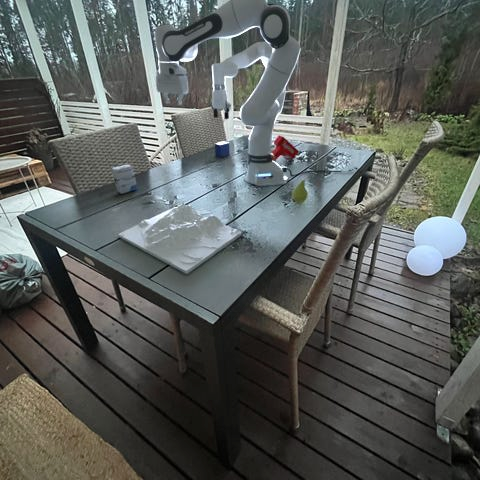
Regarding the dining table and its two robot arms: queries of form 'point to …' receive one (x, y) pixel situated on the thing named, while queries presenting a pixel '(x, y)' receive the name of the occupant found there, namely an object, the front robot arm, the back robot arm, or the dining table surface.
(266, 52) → the back robot arm
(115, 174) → the ink box
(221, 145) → the block
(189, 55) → the front robot arm
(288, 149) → the red power drill
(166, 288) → the dining table surface
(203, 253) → the relief map
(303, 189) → the fruit
